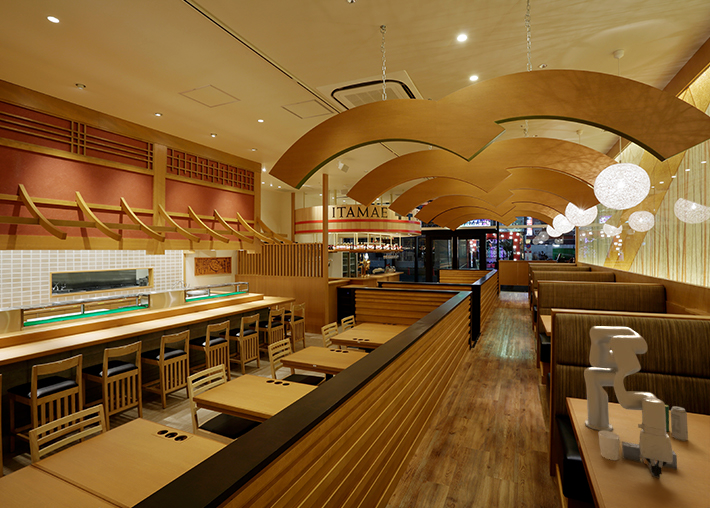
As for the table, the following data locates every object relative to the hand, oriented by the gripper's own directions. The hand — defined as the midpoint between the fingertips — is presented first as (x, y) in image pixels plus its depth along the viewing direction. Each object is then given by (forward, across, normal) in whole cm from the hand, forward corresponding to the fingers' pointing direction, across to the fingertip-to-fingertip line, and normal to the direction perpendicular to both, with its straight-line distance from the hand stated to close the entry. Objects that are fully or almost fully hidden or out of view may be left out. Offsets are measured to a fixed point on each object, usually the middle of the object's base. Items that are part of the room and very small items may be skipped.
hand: (656, 474), depth 147 cm
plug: (+2, 0, +9) cm, 9 cm away
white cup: (+2, -15, +12) cm, 19 cm away
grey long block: (+2, 0, +15) cm, 15 cm away
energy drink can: (+2, +18, +48) cm, 51 cm away
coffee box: (+2, +12, +57) cm, 58 cm away
